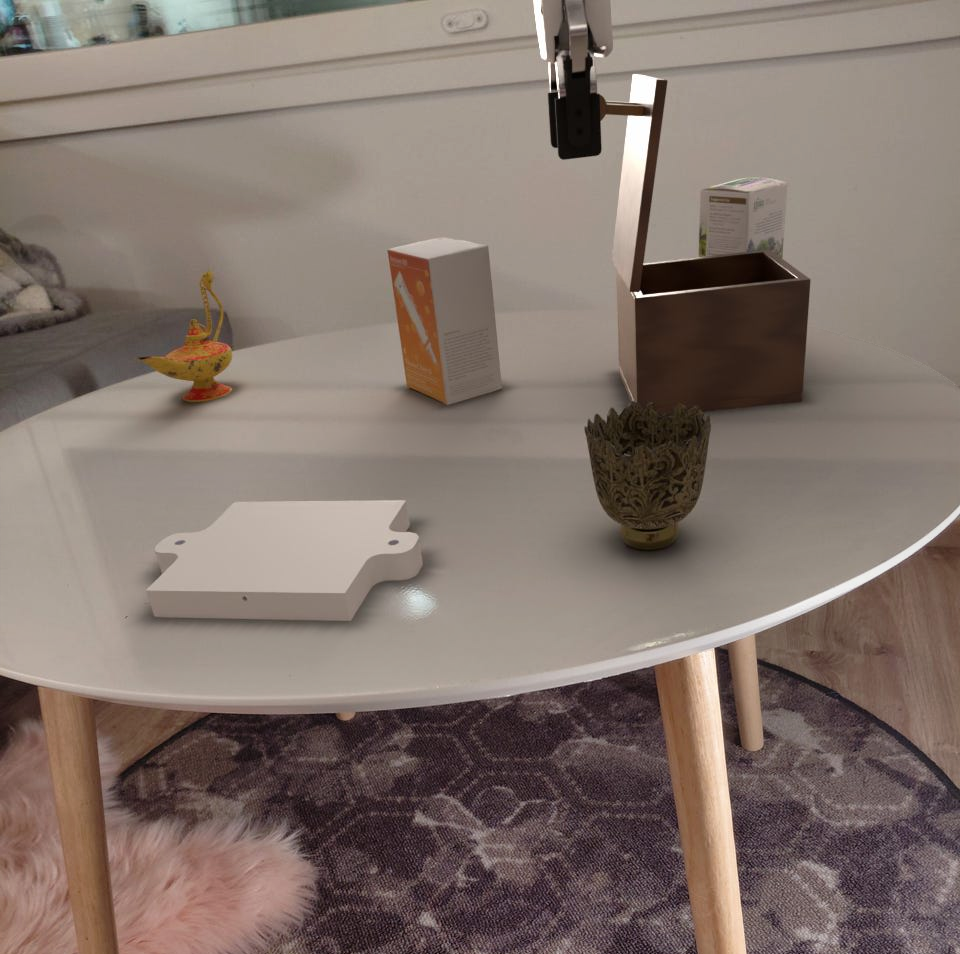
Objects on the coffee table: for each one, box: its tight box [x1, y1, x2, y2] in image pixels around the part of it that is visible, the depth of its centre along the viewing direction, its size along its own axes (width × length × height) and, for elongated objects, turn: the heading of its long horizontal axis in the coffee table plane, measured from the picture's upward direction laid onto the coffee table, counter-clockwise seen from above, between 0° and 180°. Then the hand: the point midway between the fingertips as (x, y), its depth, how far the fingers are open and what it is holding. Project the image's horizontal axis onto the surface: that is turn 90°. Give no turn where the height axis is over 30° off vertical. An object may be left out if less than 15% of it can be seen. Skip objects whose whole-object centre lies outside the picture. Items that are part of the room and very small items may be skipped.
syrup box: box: [698, 177, 788, 259], centre depth 93 cm, size 6×6×14 cm
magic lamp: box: [133, 269, 233, 403], centre depth 97 cm, size 7×18×11 cm, turn 167°
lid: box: [597, 73, 668, 292], centre depth 77 cm, size 14×13×6 cm
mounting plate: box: [145, 499, 424, 622], centre depth 64 cm, size 18×13×2 cm
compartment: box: [615, 249, 812, 416], centre depth 84 cm, size 14×13×10 cm
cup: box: [583, 401, 712, 551], centre depth 60 cm, size 8×7×8 cm
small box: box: [387, 236, 503, 406], centre depth 90 cm, size 8×6×13 cm
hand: (574, 150), depth 76 cm, fingers open, 8 cm apart
